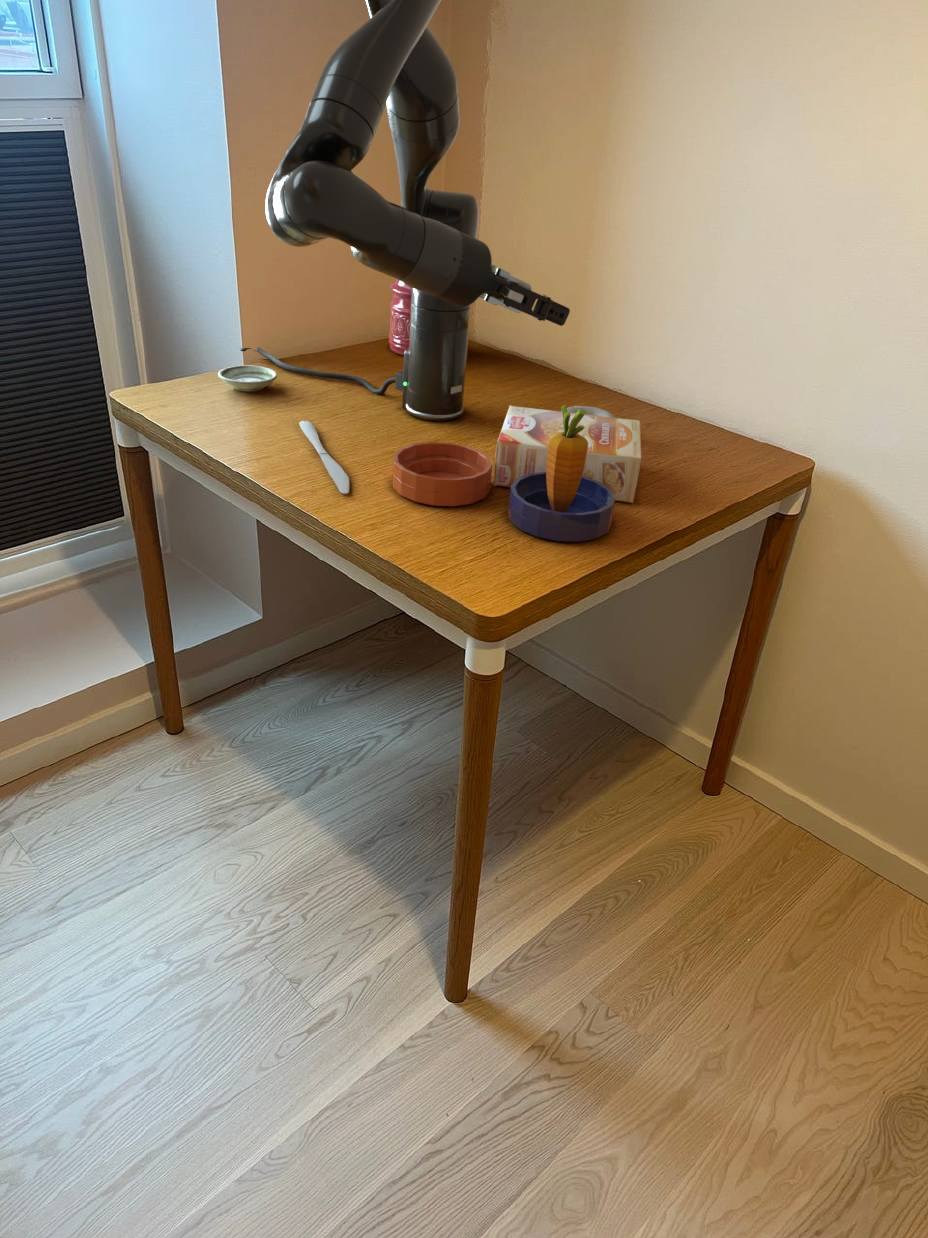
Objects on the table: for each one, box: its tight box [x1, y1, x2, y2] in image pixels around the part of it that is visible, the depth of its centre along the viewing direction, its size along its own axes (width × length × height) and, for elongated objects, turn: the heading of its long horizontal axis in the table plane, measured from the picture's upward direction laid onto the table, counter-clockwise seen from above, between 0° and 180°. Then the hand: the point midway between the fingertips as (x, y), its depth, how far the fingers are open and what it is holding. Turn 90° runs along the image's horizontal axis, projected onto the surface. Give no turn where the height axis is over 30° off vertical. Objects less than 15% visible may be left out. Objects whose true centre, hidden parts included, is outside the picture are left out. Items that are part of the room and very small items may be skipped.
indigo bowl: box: [507, 472, 616, 543], centre depth 118 cm, size 13×13×4 cm
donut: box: [560, 405, 616, 418], centre depth 146 cm, size 10×4×10 cm
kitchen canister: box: [388, 279, 412, 356], centre depth 176 cm, size 13×13×18 cm
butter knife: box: [298, 420, 350, 495], centre depth 131 cm, size 1×27×3 cm
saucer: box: [217, 364, 278, 392], centre depth 154 cm, size 10×10×2 cm
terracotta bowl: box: [392, 441, 493, 507], centre depth 124 cm, size 13×13×4 cm
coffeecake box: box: [493, 404, 642, 504], centre depth 130 cm, size 15×7×20 cm
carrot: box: [546, 404, 588, 512], centre depth 115 cm, size 5×5×15 cm
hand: (546, 307), depth 113 cm, fingers open, 8 cm apart
